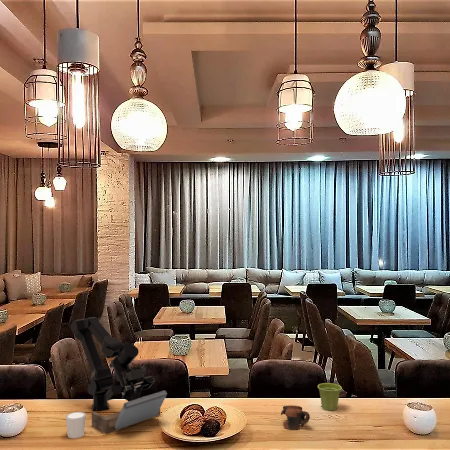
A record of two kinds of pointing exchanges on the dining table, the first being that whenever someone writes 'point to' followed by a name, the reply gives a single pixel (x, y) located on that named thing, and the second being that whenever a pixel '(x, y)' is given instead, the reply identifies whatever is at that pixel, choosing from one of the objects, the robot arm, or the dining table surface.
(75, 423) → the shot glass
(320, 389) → the plant pot
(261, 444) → the dining table surface
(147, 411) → the panel
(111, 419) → the tray
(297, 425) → the pottery mug
